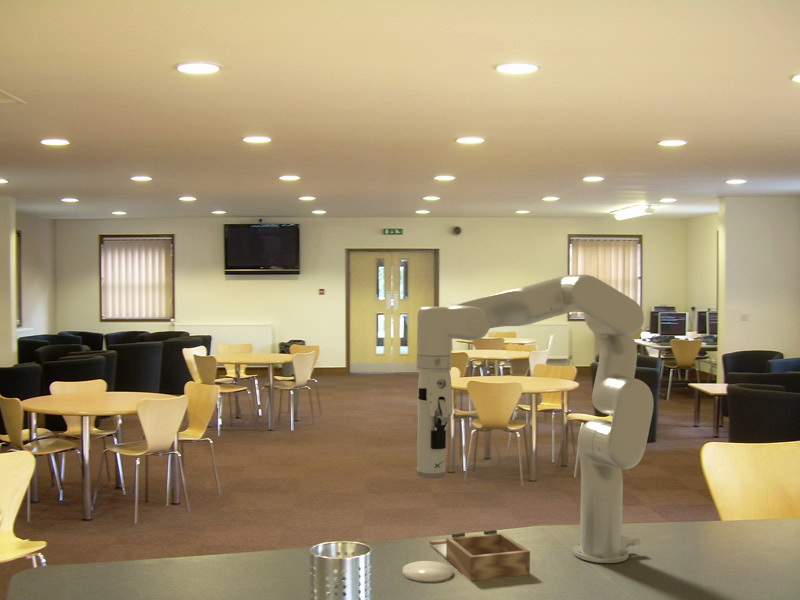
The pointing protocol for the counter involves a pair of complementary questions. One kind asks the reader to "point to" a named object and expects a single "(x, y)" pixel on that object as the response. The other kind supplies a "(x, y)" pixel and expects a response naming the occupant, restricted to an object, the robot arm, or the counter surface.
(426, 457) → the travel mug
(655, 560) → the counter surface
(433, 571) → the saucer
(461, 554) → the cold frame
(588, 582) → the counter surface
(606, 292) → the robot arm
